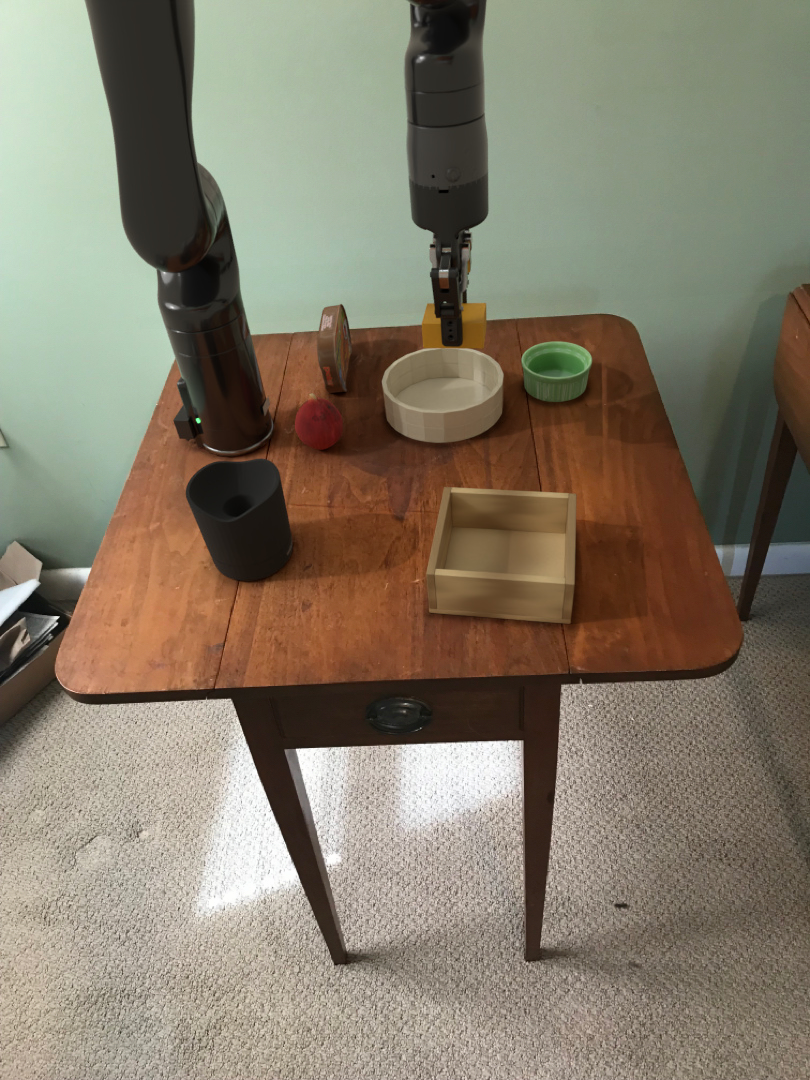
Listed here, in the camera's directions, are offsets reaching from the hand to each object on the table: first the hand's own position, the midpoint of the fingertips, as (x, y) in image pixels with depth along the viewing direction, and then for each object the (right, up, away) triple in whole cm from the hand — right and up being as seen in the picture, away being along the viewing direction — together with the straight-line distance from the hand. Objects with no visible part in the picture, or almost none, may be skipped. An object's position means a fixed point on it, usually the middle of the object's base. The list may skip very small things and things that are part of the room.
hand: (455, 332), depth 84 cm
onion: (-16, -11, +13) cm, 23 cm away
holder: (+5, -26, -5) cm, 27 cm away
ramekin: (+14, -3, +18) cm, 23 cm away
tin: (-15, +1, +25) cm, 29 cm away
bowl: (0, -6, +16) cm, 17 cm away
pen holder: (-22, -24, 0) cm, 33 cm away
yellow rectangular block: (0, 0, +1) cm, 1 cm away
